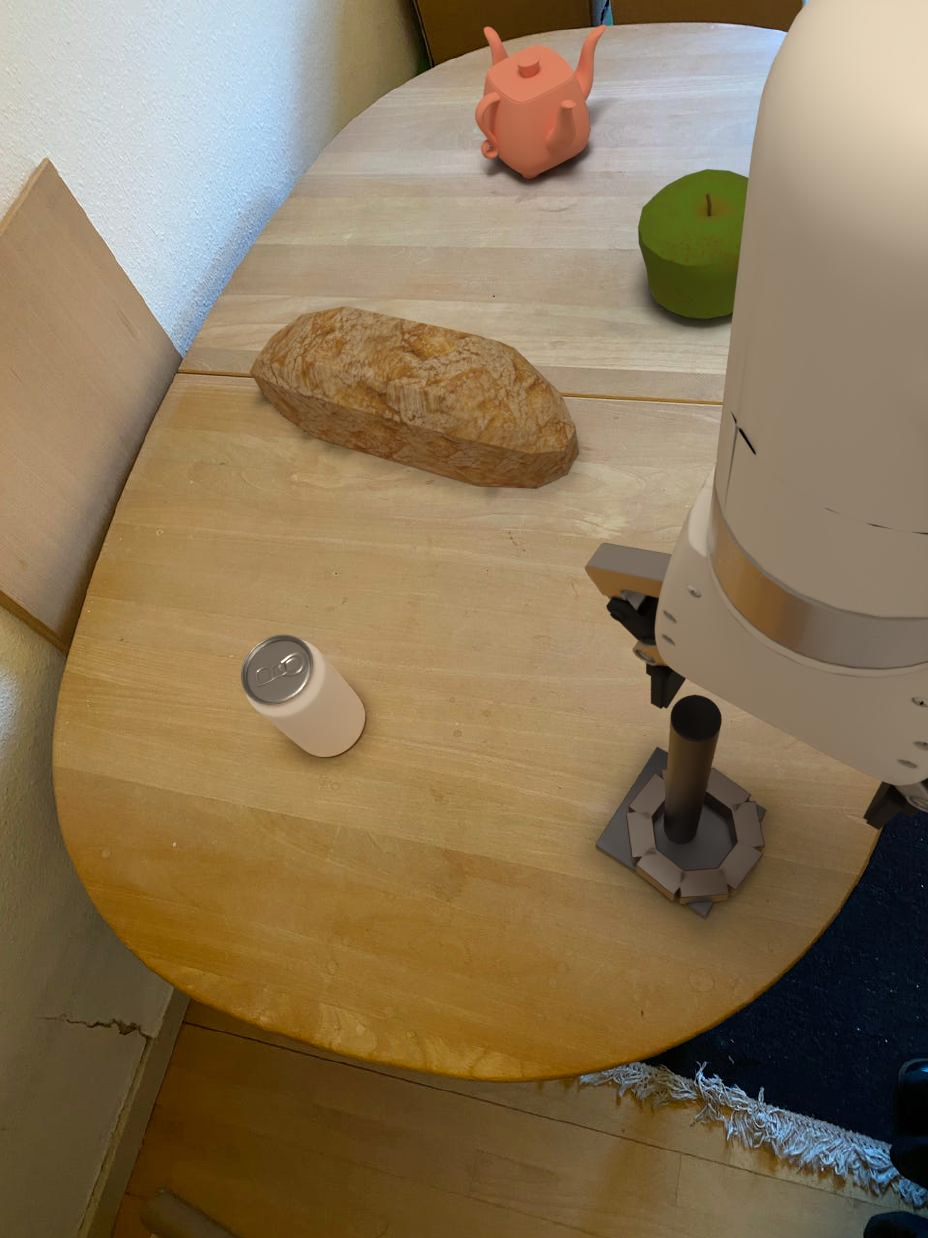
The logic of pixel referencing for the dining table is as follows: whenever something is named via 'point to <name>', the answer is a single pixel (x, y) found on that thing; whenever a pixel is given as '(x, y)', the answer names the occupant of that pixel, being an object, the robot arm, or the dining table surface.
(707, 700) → the dark grey peg stand
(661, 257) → the apple
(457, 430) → the bread
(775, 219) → the robot arm
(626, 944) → the dining table surface
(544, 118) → the teapot
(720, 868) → the ring
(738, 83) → the dining table surface
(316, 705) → the can
